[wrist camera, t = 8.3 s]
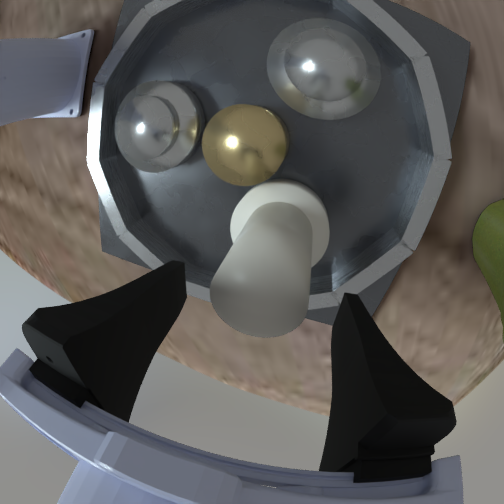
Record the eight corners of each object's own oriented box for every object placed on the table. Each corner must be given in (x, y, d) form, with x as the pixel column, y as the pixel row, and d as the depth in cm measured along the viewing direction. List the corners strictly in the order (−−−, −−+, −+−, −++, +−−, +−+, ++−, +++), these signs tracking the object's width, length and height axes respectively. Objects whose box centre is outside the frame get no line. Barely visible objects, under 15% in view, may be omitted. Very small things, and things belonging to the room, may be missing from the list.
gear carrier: (108, 246, 23) (85, 265, 20) (137, -15, 11) (111, -27, 8) (360, 324, 21) (363, 355, 18) (463, 45, 9) (489, 36, 6)
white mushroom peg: (220, 228, 19) (166, 299, 12) (273, 158, 16) (238, 197, 9) (288, 279, 20) (269, 368, 13) (347, 220, 17) (366, 299, 10)
